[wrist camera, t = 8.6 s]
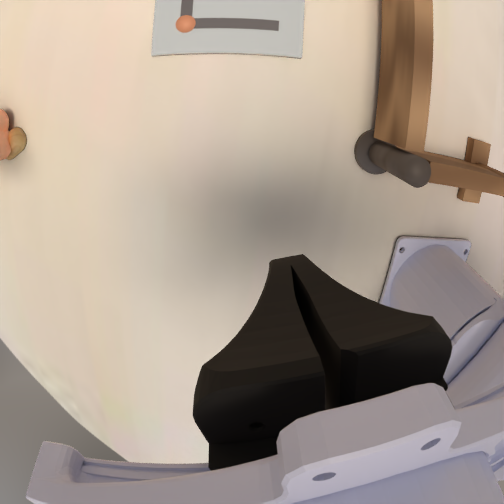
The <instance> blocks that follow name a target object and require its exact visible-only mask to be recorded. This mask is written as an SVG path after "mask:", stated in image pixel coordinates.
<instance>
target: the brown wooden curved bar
mask: <svg viewBox="0 0 504 504" xmlns="http://www.w3.org/2000/svg"><path fill="white" fill-rule="evenodd" d="M432 62H433V2H432V0H382V35H381V59H380V76H379V90H378V101H377V112H376V122H375V131H374V138H377V139H379V140H382V141H385V142H388V143H390V144H393V145H396V146H398V147H401V148H403V149H407V150H412V151H417V152H422V153H423V152H424V145H425V138H426V131H427V123H428V114H429V105H430V93H431V80H432ZM369 158H370V160H371V161H372V163H374V164H375V165H377V166H379V167H381V168H382V169H384V170H386V171H388V172H389V173H391V174H393V175H395V176H396V177H398V178H400V179H401V180H403V181H405V182H406V183H408V184H410V185H411V186H413V187H416V188H419V187H422V186H424V185H426V184H427V182H428V181H429V179H430V177H431V166H430V164H429V162H428V161H427V160H426V159H424V158H421V157H419V156H417V155H414V154H412V153H410V152H407V151H405V150H402V149H400V148H397V147H394V146H392V145H389V144H387V143H384V142H376V143H374V144H373V145H372V146H371V148H370V150H369Z"/></svg>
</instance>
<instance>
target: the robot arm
mask: <svg viewBox="0 0 504 504" xmlns="http://www.w3.org/2000/svg"><path fill="white" fill-rule="evenodd" d="M401 247H403V248H402V250H401V251H399V250H400V248H401ZM470 248H471V242H470V241H469V240H464V239H447V238H428V237H409V236H402V237H400V238H398V240H397V242H396V245H395V249H394V253H393V257H392V261H391V264H390V268H389V272H388V275H387V279H386V282H385V286H384V289H383V292H382V296H381V299H380V302H379V303H377V302H375V301H372V300H370V299H367V298H365V297H363V296H361V295H359V294H357V293H355V292H353V291H351V290H349V289H348V288H346V287H344V286H343V285H341V284H340V283H338V282H337V281H335V280H334V279H332V278H331V277H330V276H328V275H327V274H326V273H325V272H323V271H322V270H321V269H320V268H318V267H317V266H316V265H315V264H314V263H313V262H311V261H310V260H309V259H308V258H307V257H306V256H305V255H303V254H302V255H296V256H291V257H285V258H280V259H275V260H271V262H270V263H269V273H268V277H267V280H266V283H265V286H264V289H263V292H262V294H261V296H260V298H259V301H258V303H257V305H256V307H255V309H254V310H253V312H252V314H251V315H250V317H249V319H248V320H247V322H246V323H245V324H244V326H243V327H242V329H241V330H240V331H239V332H238V334H237V335H236V336H235V337H234V338H233V339H232V340H231V341H230V343H229V344H228V345H227V346H226V347H225V348H224V349H222V350H221V351H220V352H219V353H218V354H217V355H215V356H214V357H213V358H212V359H210V360H209V361H208V362H207V363H205V364H204V365H203V366H202V368H201V371H200V374H199V377H198V381H197V385H196V388H195V394H194V405H193V417H194V420H195V423H196V424H197V426H198V427H199V429H200V431H201V432H202V434H203V435H204V437H205V438H206V440H207V441H208V443H209V463H196V464H156V463H134V462H119V461H110V460H100V459H92V458H85V457H83V456H82V455H81V454H80V453H79V452H78V451H77V450H76V449H75V448H73V447H71V446H69V445H65V444H60V443H54V442H48V441H43V443H42V446H41V449H40V451H39V454H38V457H37V460H36V464H35V467H34V470H33V473H32V476H31V480H30V483H29V487H28V490H27V493H26V498H27V499H28V500H30V501H31V502H33V503H35V504H504V496H503V494H502V491H501V489H500V487H499V484H498V482H497V481H500V480H504V299H503V298H502V297H501V296H500V295H499V294H498V293H497V292H496V291H495V290H494V289H493V288H492V287H491V286H490V285H489V284H488V283H487V282H486V281H485V280H484V279H483V278H482V277H481V276H480V275H479V274H478V273H477V272H476V271H475V270H473V269H472V268H471V267H470V266H469V265H468V264H467V263H466V260H467V257H468V254H469V251H470ZM464 250H465V251H464Z"/></svg>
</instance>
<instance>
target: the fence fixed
mask: <svg viewBox="0 0 504 504" xmlns="http://www.w3.org/2000/svg"><path fill="white" fill-rule="evenodd" d="M374 131H375V130H369V131H367V132H365V133H363V134H362V135H361V136H360V137H359V139H358V140H357V142H356V145H355V158H356V161H357V163H358V164H359V166H360V167H361V168H362V169H364V170H365V171H367V172H369V173H371V174H381V173H384V172H386V170H384V169H382V168H381V167H379V166H377V165H375V164H374V163H372V161H371V160H370V158H369V150H370V148H371V146H372V145H373V144H374V143H376V142H384V143H387V144H389V145H392V146H394V147H397V148H400V149H402V150H405V151H407V152H410V153H412V154H414V155H417V156H419V157H421V158H424V159H426V160H427V161H428V162H429V164H430V166H431V177H430V179H429V181H428V182H429V183H436V184H442V185H448V186H454V187H459V191H458V196H457V198H459V199H460V200H462V201H467V202H473V203H479V201H480V197H481V193H482V192H486V193H491V194H496V195H500V196H503V197H504V173H502V172H500V171H498V170H496V169H493V168H491V167H489V166H487V164H488V158H489V152H490V146H491V144H488V143H485V142H482V141H479V140H476V139H473V138H469V137H468V142H467V149H466V155H465V160H461V159H457V158H453V157H448V156H444V155H440V154H435V153H430V152H425V151H424V152H423V153H422V152H417V151H412V150H407V149H403V148H401V147H398V146H396V145H393V144H390V143H388V142H385V141H382V140H379V139H377V138H374Z"/></svg>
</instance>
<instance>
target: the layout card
mask: <svg viewBox="0 0 504 504" xmlns="http://www.w3.org/2000/svg"><path fill="white" fill-rule="evenodd" d="M304 6H305V0H156V1H155V11H154V23H153V37H152V55H151V56H162V55H178V54H253V55H269V56H281V57H291V58H302V50H303V30H304Z"/></svg>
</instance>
